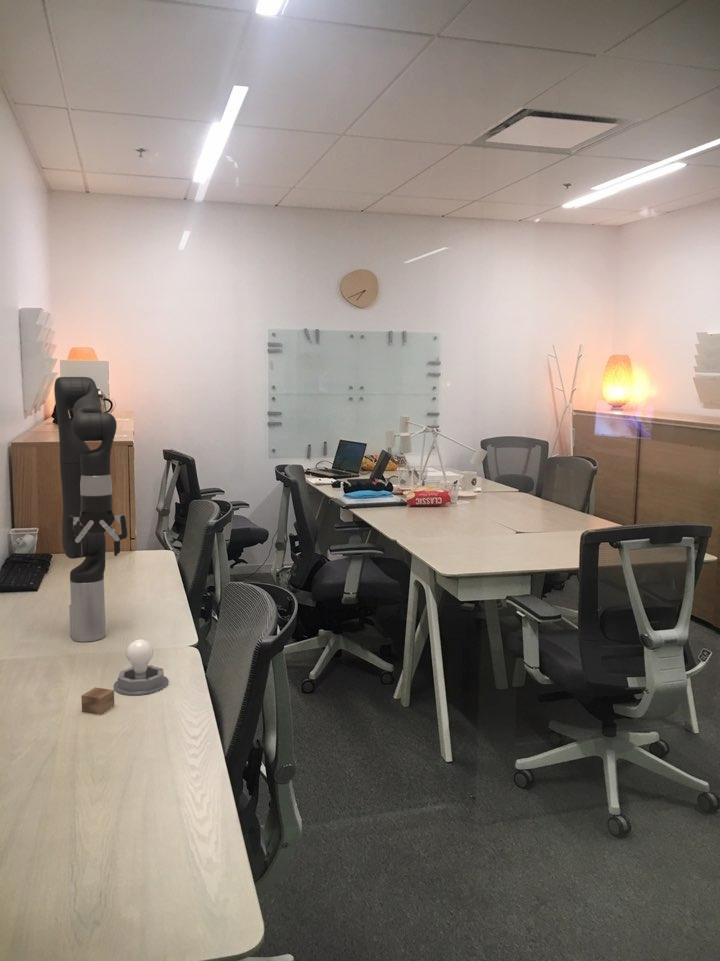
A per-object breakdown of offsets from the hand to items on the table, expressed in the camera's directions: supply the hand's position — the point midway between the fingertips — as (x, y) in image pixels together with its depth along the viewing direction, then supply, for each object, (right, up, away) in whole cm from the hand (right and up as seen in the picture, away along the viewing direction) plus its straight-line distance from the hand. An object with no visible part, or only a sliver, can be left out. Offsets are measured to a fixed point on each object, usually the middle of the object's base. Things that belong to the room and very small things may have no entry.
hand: (98, 555), depth 195 cm
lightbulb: (+12, -31, -6) cm, 34 cm away
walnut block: (+7, -33, -20) cm, 39 cm away
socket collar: (+13, -31, -6) cm, 34 cm away
